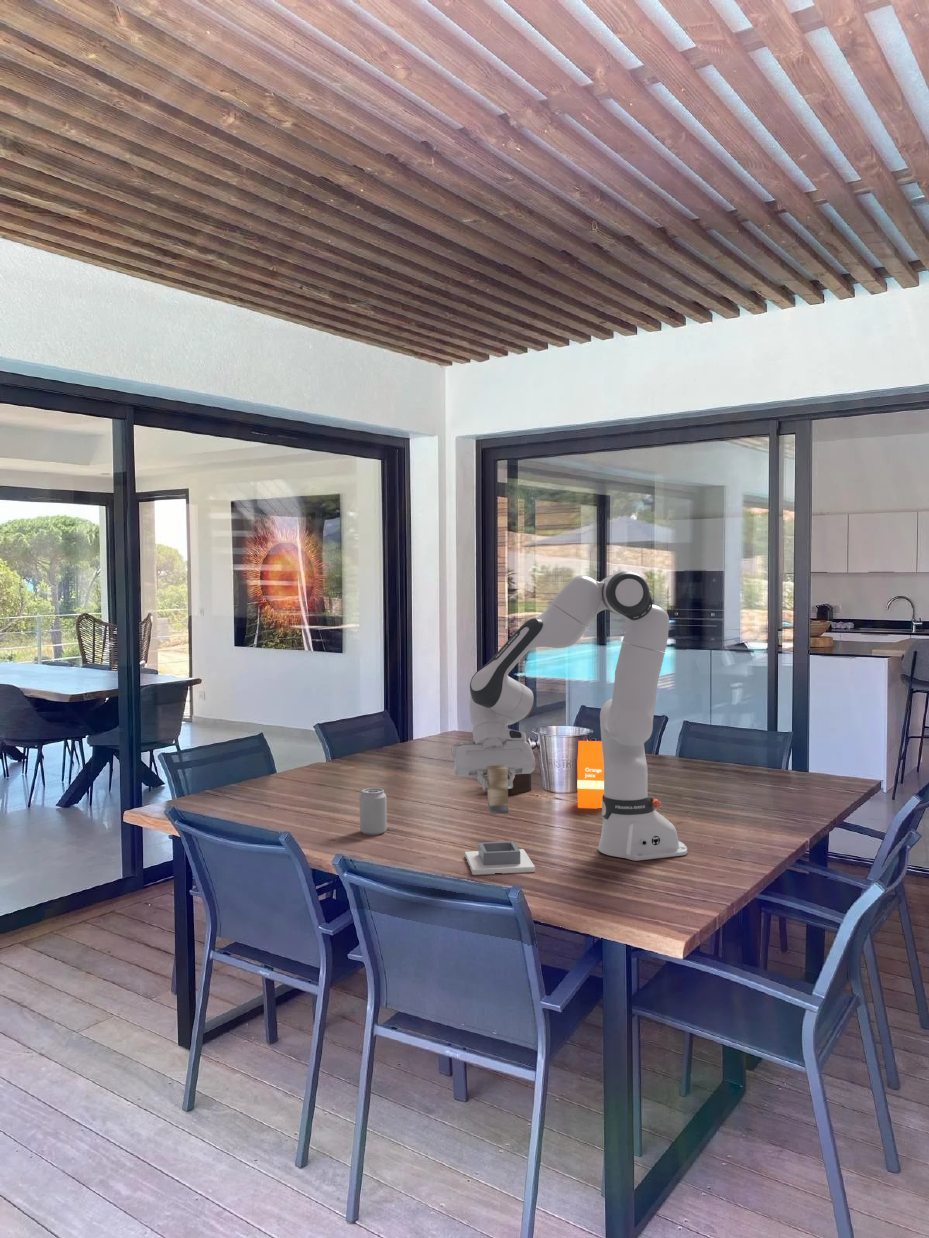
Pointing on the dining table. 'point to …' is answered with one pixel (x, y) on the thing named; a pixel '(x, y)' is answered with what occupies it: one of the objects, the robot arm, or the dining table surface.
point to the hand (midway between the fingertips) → (498, 787)
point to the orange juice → (590, 774)
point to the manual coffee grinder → (520, 784)
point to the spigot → (497, 789)
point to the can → (373, 811)
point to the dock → (498, 859)
